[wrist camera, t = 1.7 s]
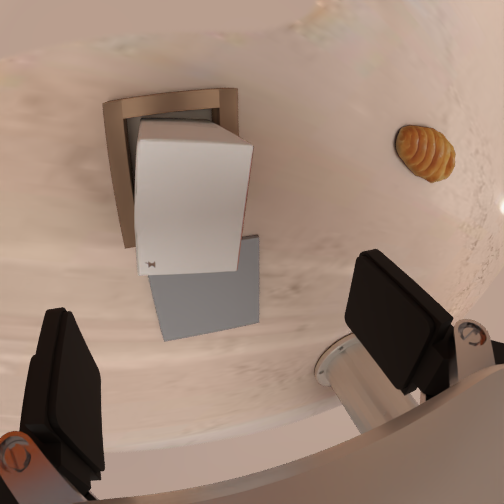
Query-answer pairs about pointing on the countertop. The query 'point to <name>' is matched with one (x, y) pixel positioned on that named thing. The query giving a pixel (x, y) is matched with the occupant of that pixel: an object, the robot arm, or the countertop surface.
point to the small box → (189, 196)
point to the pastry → (426, 152)
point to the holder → (119, 110)
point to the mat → (209, 297)
